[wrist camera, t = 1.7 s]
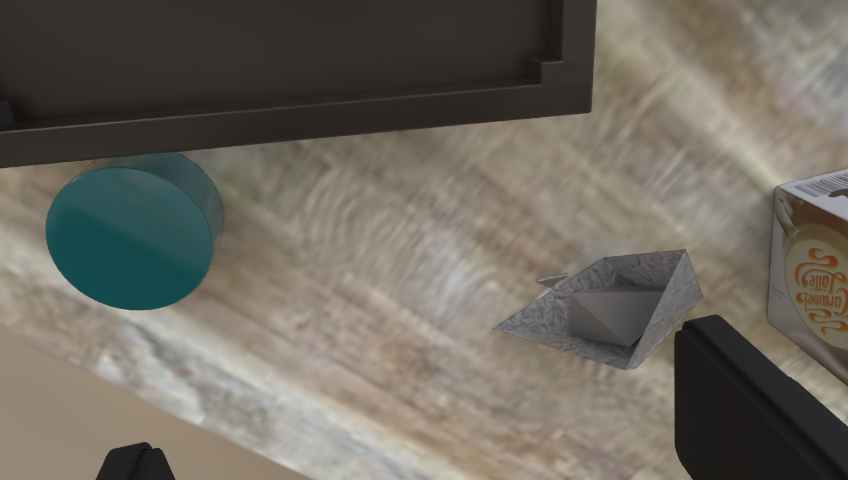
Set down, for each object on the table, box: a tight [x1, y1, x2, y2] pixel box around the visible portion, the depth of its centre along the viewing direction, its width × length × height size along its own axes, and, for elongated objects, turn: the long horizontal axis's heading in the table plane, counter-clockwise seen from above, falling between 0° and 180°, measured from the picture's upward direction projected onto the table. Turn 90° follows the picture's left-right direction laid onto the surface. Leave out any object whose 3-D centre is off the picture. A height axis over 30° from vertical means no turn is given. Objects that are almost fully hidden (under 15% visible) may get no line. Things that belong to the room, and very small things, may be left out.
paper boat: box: [493, 249, 703, 371], centre depth 32 cm, size 12×6×9 cm
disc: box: [46, 152, 224, 310], centre depth 29 cm, size 7×7×3 cm
